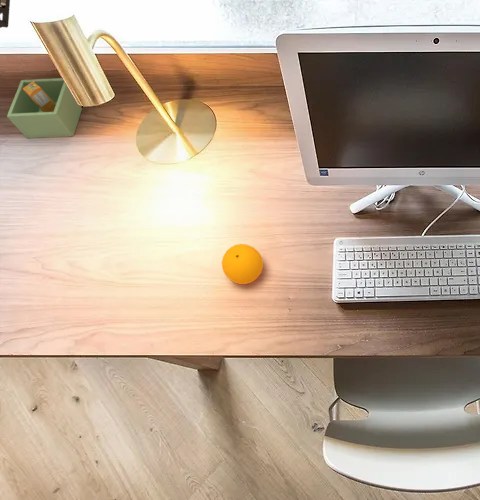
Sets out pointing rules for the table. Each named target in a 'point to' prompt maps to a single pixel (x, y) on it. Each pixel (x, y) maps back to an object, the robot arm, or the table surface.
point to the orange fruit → (242, 263)
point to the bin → (45, 123)
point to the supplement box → (39, 97)
